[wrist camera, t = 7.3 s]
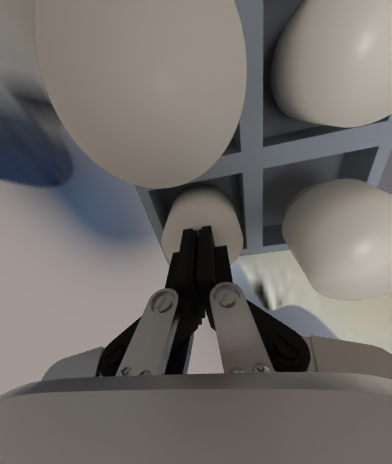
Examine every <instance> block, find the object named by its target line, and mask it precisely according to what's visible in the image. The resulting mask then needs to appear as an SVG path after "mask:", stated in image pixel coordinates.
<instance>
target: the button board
mask: <svg viewBox="0 0 392 464" xmlns="http://www.w3.org/2000/svg"><path fill="white" fill-rule="evenodd" d="M234 1H235V4H236V8H237V11H238V14H239V17H240V21H241V25H242V30H243V35H244V41H245V49H246V60H247V82H246V90H245V99H244V103H243V108H242V113H241V116H240V119H239V122H238V125H237V128H236V130H235V133H234V135H233V137H232V139H231V141H230V143H229V144H228V146H227V148H226V149H225V151H224V153H223V154H222V155H221V156H220V158H219V159H218V160H217V161H216V162H215V163H214V164H213V165H212V166H211V167H210V168H209V169H208V170H207V171H206V172H205V173H203V174H202V175H201V176H199V177H197V178H196V179H194V180H192V181H190V182H188V183H185V184H183V185H179V186H176V187H171V188H146V187H141V186H137V185H135V186H136V189H137V191H138V193H139V196H140V198H141V200H142V203H143V205H144V208H145V210H146V212H147V215H148V217H149V219H150V222H151V224H152V227H153V229H154V231H155V234H156V236H157V239H158V241H159V243H160V246H161V248H162V234H163V231H164V228H165V225H166V222H167V219H168V216H169V213H170V210H171V207H172V204H173V202H174V200H175V199H176V198H177V196H178V195H179V194H180V193H182V192H183V191H185V190H187V189H189V188H191V187H195V186H210V187H214V188H217V189H219V190H221V191H222V192H224V193H225V194H226V195H227V196H228V197H229V198H230V199H231V201H232V203H233V205H234V208H235V212H236V215H237V218H238V222H239V225H240V228H241V232H242V235H243V248H242V251H241V253H240V255H239V256H243V255H251V254H259V253H267V252H275V251H283V250H290V249H289V247H288V245H287V244H286V242H285V240H284V238H283V235H282V224H283V220H284V217H285V210H286V207H287V205H288V203H289V201H290V200H291V199H292V197H293V196H294V195H295V194H296V193H298V192H299V191H300V190H302V189H303V188H305V187H307V186H309V185H312V184H315V183H319V182H329V181H333V180H337V179H358V180H361V181H364V182H366V183H368V184H370V185H373V186H375V187H377V186H378V183H379V181H380V178H381V176H382V173H383V170H384V168H385V165H386V163H387V160H388V157H389V155H390V152H391V150H392V114H391V115H389V116H387V117H385V118H383V119H381V120H378V121H376V122H373V123H371V124H367V125H363V126H359V127H349V128H343V127H336V126H329V125H322V124H315V123H307V122H300V121H296V120H293V119H291V118H289V117H287V116H286V115H285V114H284V113H283V112H282V111H281V110H280V109H279V107H278V106H277V104H276V102H275V100H274V97H273V93H272V88H271V66H272V60H273V55H274V51H275V48H276V45H277V42H278V40H279V37H280V35H281V33H282V31H283V29H284V27H285V25H286V23H287V22H288V20H289V18H290V17H291V15H292V14H293V13H294V11H295V10H296V9H297V7H298V6H299V5H300V4H301V3H302V1H303V0H234ZM162 251H163V248H162ZM163 252H164V251H163ZM164 255H165V253H164ZM165 258H166V260H167V262H168V265H170V263H171V261H170V260H169V259H168V258H167V256H166V255H165Z"/></svg>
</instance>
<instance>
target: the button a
mask: <svg viewBox="0 0 392 464" xmlns="http://www.w3.org/2000/svg"><path fill="white" fill-rule="evenodd" d="M34 33H35V44H36V52H37V57H38V62H39V67H40V71H41V75H42V78H43V81H44V85H45V88H46V90H47V93H48V95H49V98H50V100H51V103H52V105H53V107H54V109H55V111H56V113H57V115H58V117H59V119H60V120H61V122H62V124H63V125H64V127H65V129H66V130H67V132H68V133H69V134H70V136H71V137H72V139H73V140H74V141H75V143H76V144H77V145H78V146H79V147H80V148H81V149H82V151H83V152H84V153H85V154H87V156H88V157H89V158H90V159H91V160H93V161H94V162H95V163H96V164H97V165H99V166H100V167H101V168H102V169H104V170H105V171H107V172H108V173H110V174H111V175H113V176H115V177H117V178H119V179H121V180H123V181H125V182H128V183H130V184H133V185H137V186H141V187H146V188H171V187H176V186H179V185H183V184H185V183H188V182H190V181H192V180H194V179H196V178H197V177H199V176H201V175H202V174H203V173H205V172H206V171H207V170H208V169H209V168H210V167H211V166H212V165H213V164H214V163H215V162H216V161H217V160H218V159H219V158H220V156H221V155H222V154H223V153H224V151H225V149H226V148H227V146H228V144H229V143H230V141H231V139H232V137H233V135H234V133H235V130H236V128H237V125H238V122H239V119H240V116H241V113H242V108H243V103H244V99H245V90H246V82H247V60H246V49H245V41H244V35H243V30H242V25H241V21H240V17H239V14H238V11H237V8H236V4H235V1H234V0H36V1H35V9H34Z"/></svg>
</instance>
